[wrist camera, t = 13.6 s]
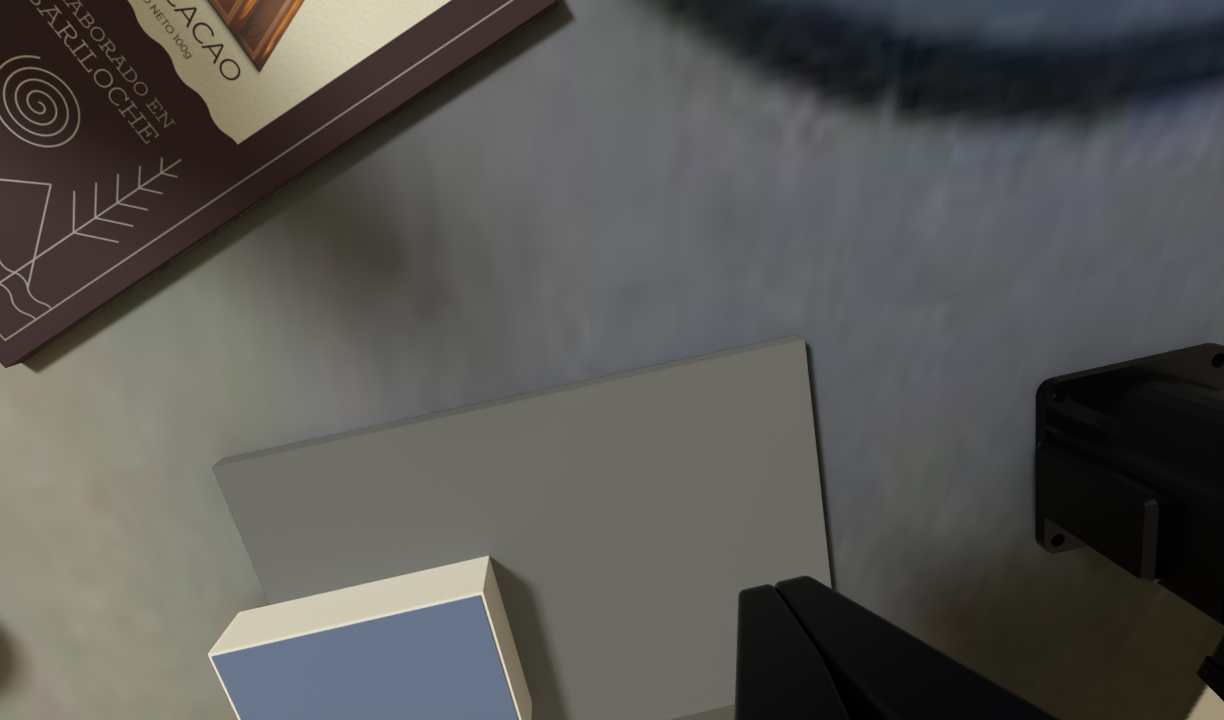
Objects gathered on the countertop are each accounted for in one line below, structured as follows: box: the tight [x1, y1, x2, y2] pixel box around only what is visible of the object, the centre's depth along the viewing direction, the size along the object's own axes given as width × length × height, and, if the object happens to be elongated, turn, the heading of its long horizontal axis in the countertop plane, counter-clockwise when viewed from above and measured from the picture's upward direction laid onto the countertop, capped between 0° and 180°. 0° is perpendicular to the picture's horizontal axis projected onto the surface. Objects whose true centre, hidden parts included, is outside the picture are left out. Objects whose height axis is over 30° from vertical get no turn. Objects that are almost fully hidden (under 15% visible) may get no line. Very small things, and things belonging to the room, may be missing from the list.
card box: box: [208, 556, 532, 720], centre depth 19 cm, size 6×2×8 cm
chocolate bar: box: [0, 0, 559, 368], centre depth 15 cm, size 9×1×18 cm
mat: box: [212, 335, 832, 720], centre depth 20 cm, size 18×13×1 cm
